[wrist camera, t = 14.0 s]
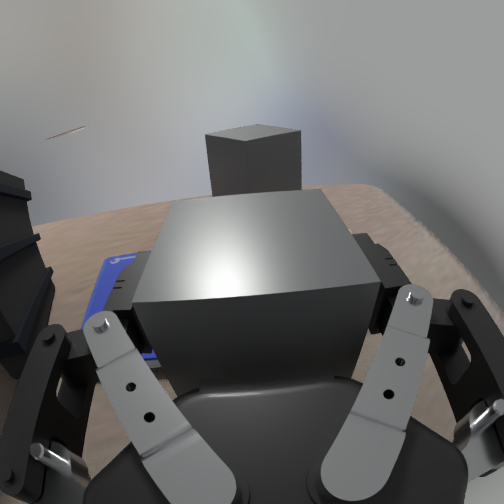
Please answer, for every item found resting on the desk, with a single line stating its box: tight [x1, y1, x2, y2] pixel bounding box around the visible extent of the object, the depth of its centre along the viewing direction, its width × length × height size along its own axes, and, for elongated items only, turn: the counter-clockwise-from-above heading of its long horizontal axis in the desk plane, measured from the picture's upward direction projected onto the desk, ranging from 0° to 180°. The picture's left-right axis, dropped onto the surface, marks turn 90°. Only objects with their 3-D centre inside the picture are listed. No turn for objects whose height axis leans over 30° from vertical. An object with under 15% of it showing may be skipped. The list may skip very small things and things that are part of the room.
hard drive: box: [81, 250, 161, 368], centre depth 21 cm, size 2×8×12 cm
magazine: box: [0, 171, 55, 378], centre depth 16 cm, size 4×13×15 cm, turn 23°
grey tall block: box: [205, 124, 301, 197], centre depth 27 cm, size 6×6×10 cm
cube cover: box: [132, 189, 381, 397], centre depth 12 cm, size 6×6×10 cm
